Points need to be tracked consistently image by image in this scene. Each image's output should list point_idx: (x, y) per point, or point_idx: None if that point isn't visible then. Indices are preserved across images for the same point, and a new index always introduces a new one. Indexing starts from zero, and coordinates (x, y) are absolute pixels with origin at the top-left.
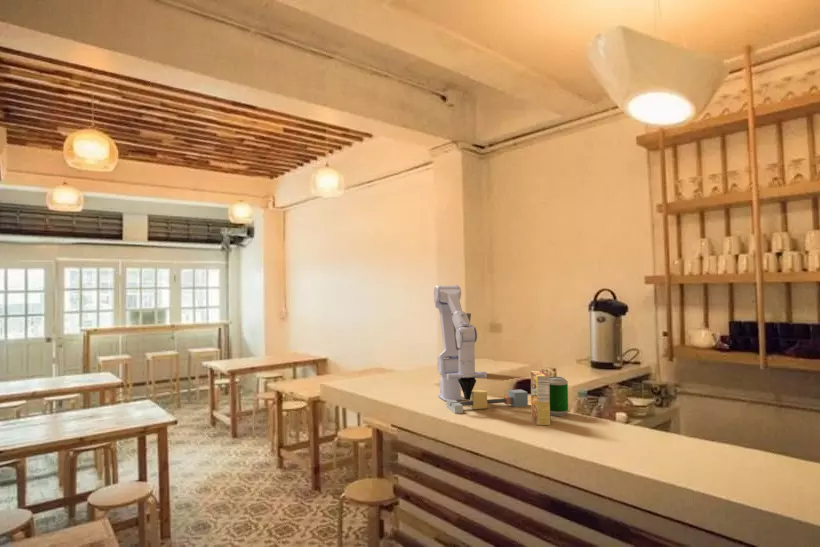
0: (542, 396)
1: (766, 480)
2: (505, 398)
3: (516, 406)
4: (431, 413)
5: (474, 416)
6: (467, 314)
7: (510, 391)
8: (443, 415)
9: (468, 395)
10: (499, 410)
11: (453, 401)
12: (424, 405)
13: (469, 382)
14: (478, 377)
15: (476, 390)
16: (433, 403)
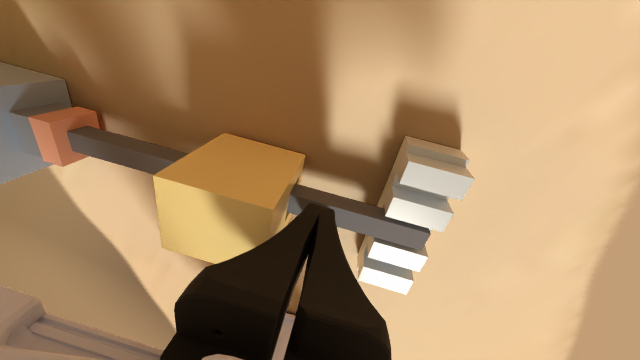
0: None
1: None
2: (67, 141)
3: (53, 77)
4: (571, 226)
5: (408, 9)
6: None
7: None
8: (560, 153)
9: (315, 223)
10: (173, 63)
11: (392, 258)
12: (457, 335)
13: (282, 307)
14: (108, 341)
15: (215, 252)
16: (397, 334)
